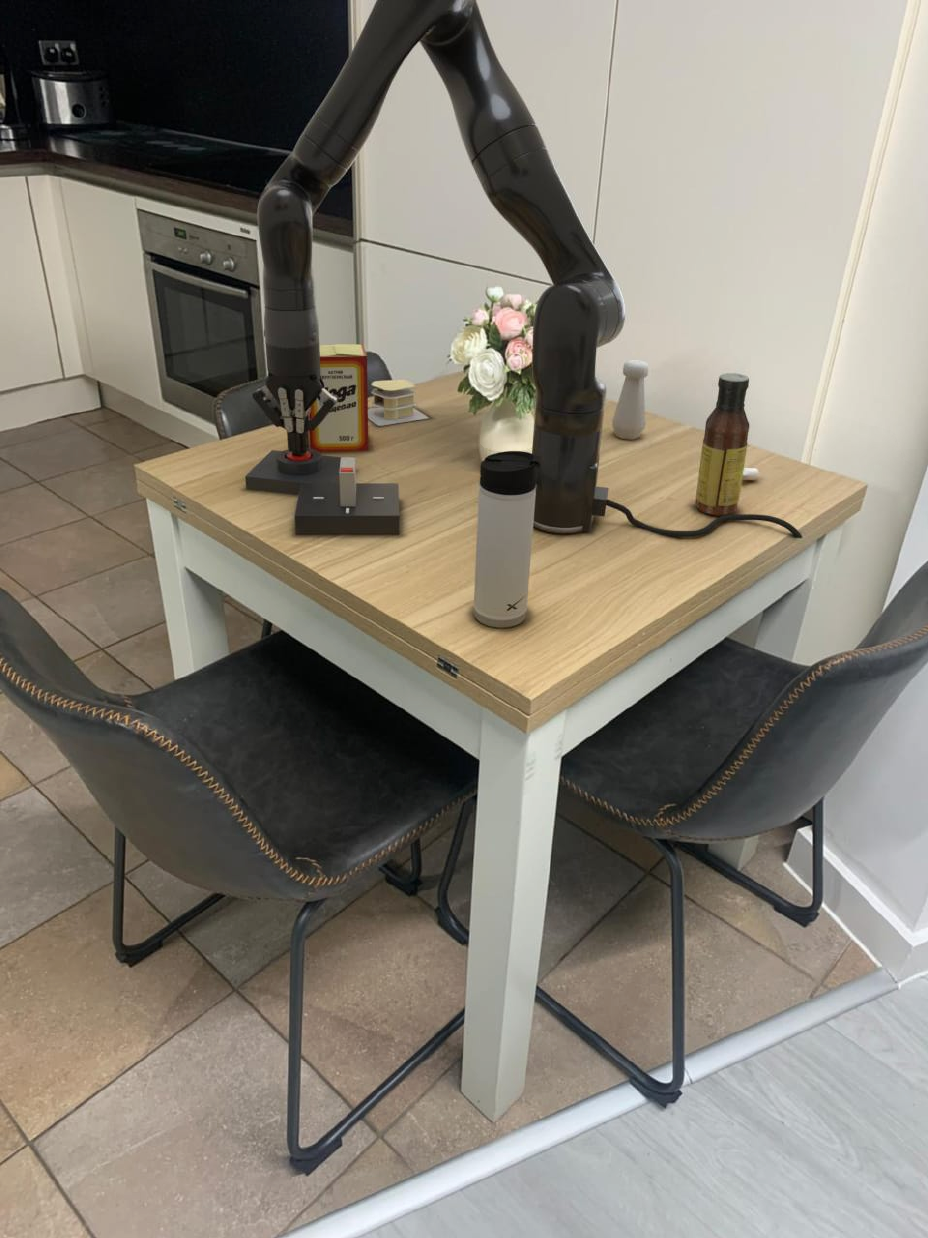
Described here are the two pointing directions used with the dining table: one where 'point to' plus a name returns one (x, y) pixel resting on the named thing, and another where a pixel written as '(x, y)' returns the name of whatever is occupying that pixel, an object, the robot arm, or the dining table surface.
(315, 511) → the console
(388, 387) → the stacked layers on plate
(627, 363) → the salt shaker
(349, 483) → the grey block
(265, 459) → the red button base
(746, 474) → the small white plastic part
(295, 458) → the power button
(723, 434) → the sauce bottle
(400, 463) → the dining table surface
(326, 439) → the baking soda box
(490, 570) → the travel mug
